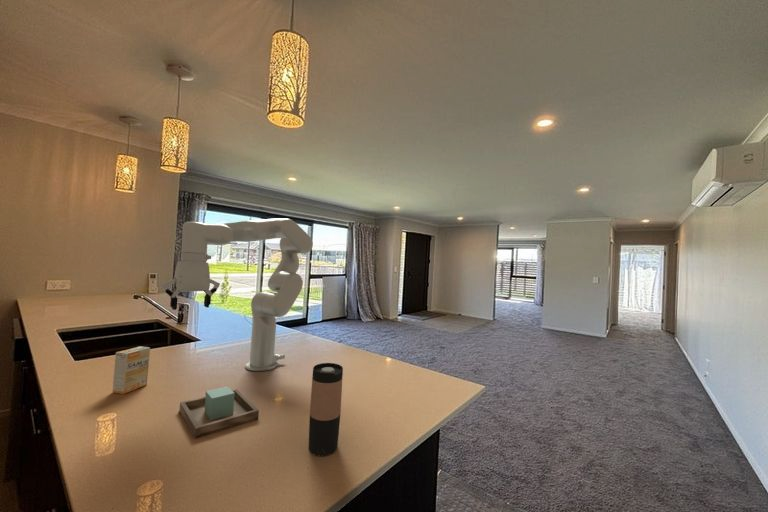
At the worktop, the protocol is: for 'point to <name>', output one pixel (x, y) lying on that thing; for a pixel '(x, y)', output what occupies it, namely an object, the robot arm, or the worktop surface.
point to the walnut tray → (205, 426)
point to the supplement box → (131, 369)
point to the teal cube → (219, 402)
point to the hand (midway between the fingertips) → (190, 308)
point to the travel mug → (325, 408)
